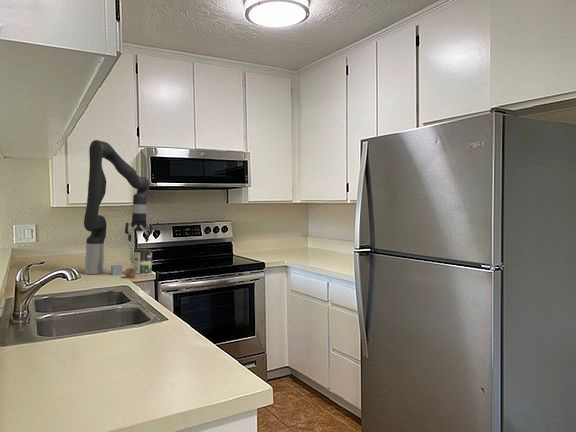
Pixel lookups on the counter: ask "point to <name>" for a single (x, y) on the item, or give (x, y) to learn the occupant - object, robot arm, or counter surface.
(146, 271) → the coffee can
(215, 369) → the counter surface
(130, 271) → the walnut block
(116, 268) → the slate-blue block
